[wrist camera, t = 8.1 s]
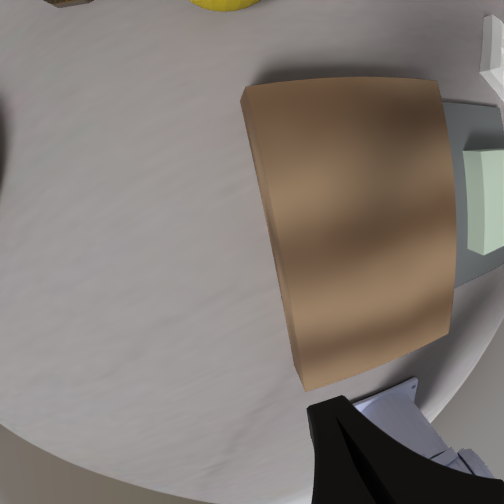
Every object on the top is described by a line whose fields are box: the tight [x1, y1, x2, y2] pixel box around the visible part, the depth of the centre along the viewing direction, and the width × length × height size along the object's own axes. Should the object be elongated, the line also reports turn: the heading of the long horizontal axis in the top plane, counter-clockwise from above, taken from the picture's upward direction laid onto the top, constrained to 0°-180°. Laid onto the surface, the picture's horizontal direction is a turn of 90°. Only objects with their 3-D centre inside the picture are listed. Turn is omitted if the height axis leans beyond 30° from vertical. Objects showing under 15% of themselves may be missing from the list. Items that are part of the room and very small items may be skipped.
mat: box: [442, 102, 504, 288], centre depth 18 cm, size 15×11×1 cm
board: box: [240, 77, 456, 392], centre depth 17 cm, size 18×12×3 cm, turn 12°
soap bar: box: [479, 14, 504, 102], centre depth 14 cm, size 5×9×3 cm, turn 156°
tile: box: [463, 148, 504, 255], centre depth 17 cm, size 8×6×2 cm
